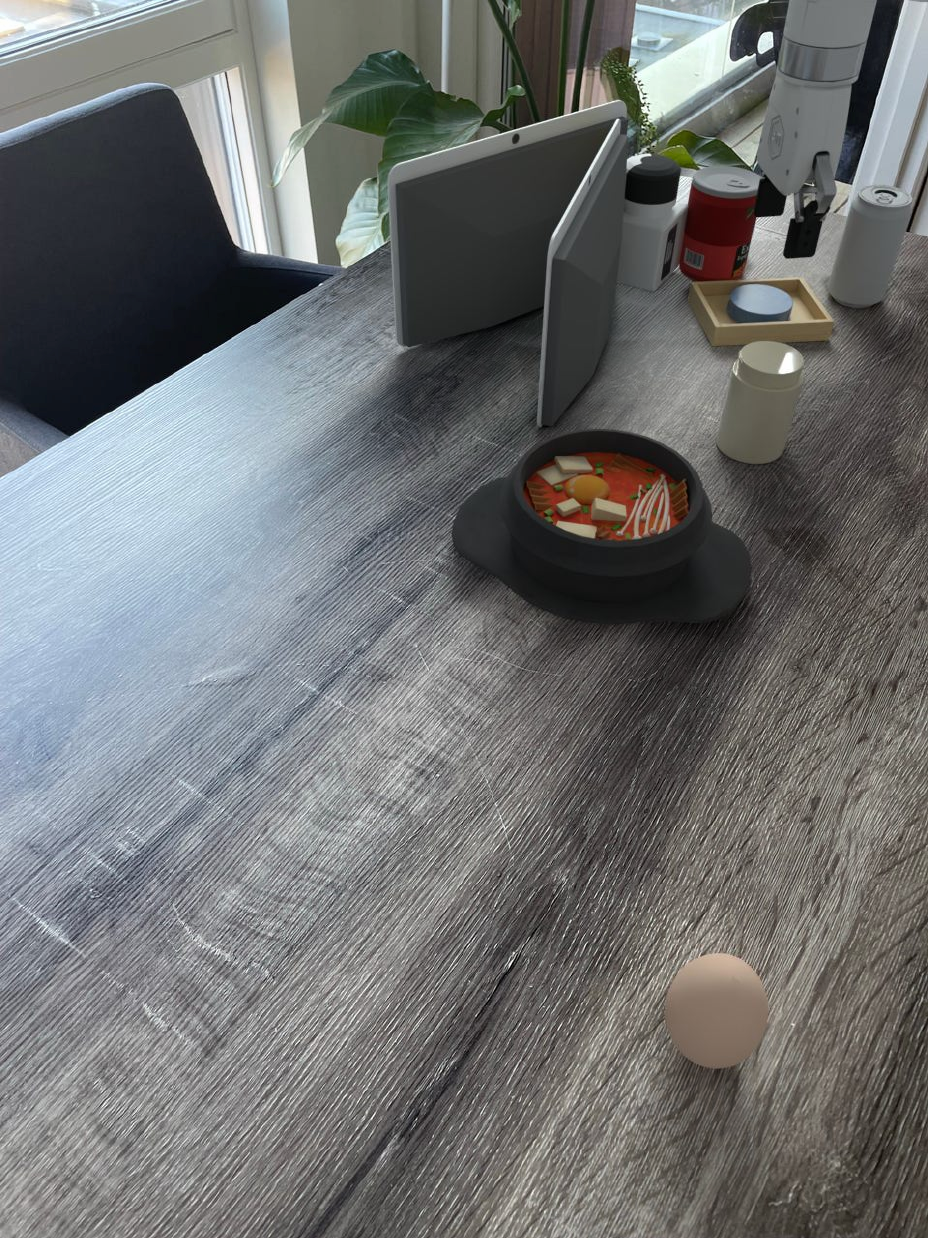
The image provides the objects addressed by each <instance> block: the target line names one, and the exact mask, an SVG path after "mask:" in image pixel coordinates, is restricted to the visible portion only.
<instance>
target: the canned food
mask: <svg viewBox="0 0 928 1238" xmlns="http://www.w3.org/2000/svg"><path fill="white" fill-rule="evenodd" d="M760 179H763V177H761V176H760V175H758V174H757V173H755V172H754V171H751V170H748V169H746V168H742V167H738V166H730V165H713V166H707V167H703V168H700V169H698V170H696V171H695V172H694V173H693V176H692V179H691V183H690V189H689V195H688V201H687V205H688V213H687V219H686V225H685V231H684V237H683V243H682V249H681V255H680V261H679V265H678V267H679V271H680V272H681V273H682V274H683V275H684V276H685V277H687V278H688V279H690V280H692V281H694V282H704V281H726V280H740V278H741V277H742V276H743V274H744V272H745V271H746V267H747V261H748V258H749V253H750V248H751V243H752V239H753V236H754V232H755V226H756V222H757V218H758V217H755V215H754V207H755V202H756V196H757V191H758V186H759V180H760Z"/></svg>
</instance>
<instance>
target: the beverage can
mask: <svg viewBox="0 0 928 1238" xmlns="http://www.w3.org/2000/svg"><path fill="white" fill-rule="evenodd" d="M912 203H913V197H912V195H911V194H910V193H909V192H908V191H906V190H903V189H902V188H899V187H895V186H892V185H887V184H870V185H865V186H863V187H861V188H859V190H858V192H857V196H856V197H854V199H852V201H851V203H850V206H849V210H848V214H847V218H846V220H845V224H844V228H843V232H842V235H841V239H840V242H839V245H838V249H837V252H836V256H835V259H834V263H833V266H832V270H831V272H830V273H831V274H830V276H829V280H828V284H827V291H828V293H829V295H830V296H831V297H832V298H833V300H834V301H835V302H837V303H839V304H840V305H843V306H845V307H848V308H853V309H865V308H869V307H871V306H873V305H875V304H878V303H880V302H881V301H882V300H883V299H884V297H885V296H886V292H887V289H888V286H889V283H890V280H891V277H892V274H893V271H894V268H895V265H896V263H897V259H898V256H899V253H900V250H901V247H902V245H903V241H904V238H905V236H906V232H907V229H908V226H909V223H910V221H911V218H912V217H911V216H912V213H913V208H912V205H911V204H912Z"/></svg>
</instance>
